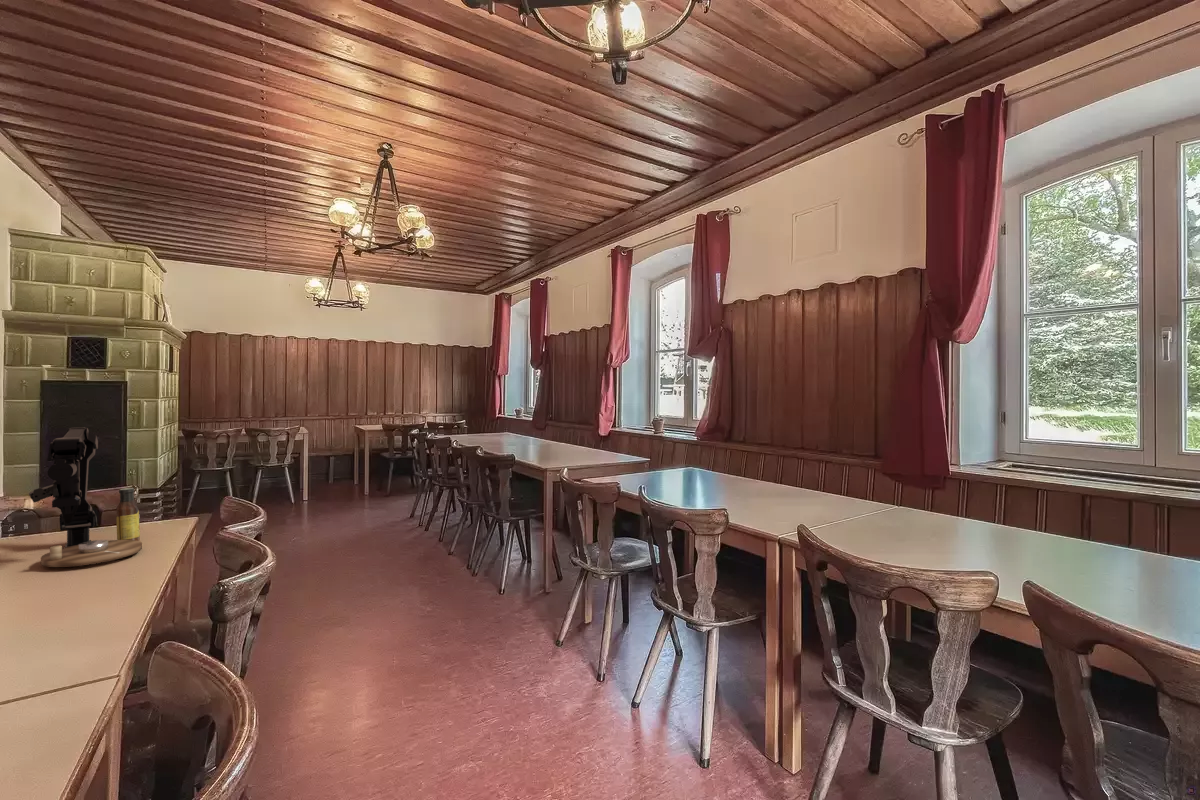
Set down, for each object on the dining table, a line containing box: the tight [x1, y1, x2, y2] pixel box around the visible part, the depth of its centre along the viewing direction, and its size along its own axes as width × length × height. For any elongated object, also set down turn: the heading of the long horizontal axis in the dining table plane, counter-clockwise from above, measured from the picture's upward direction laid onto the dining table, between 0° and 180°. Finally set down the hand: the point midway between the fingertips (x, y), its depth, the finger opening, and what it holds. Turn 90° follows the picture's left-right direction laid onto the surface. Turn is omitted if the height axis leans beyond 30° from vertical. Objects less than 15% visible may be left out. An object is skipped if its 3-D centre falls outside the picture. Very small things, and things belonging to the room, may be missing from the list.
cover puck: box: [79, 539, 109, 554], centre depth 172 cm, size 7×7×2 cm
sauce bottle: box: [115, 487, 141, 541], centre depth 191 cm, size 7×6×20 cm
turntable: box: [40, 539, 143, 568], centre depth 172 cm, size 24×24×6 cm
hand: (67, 523), depth 172 cm, fingers closed
